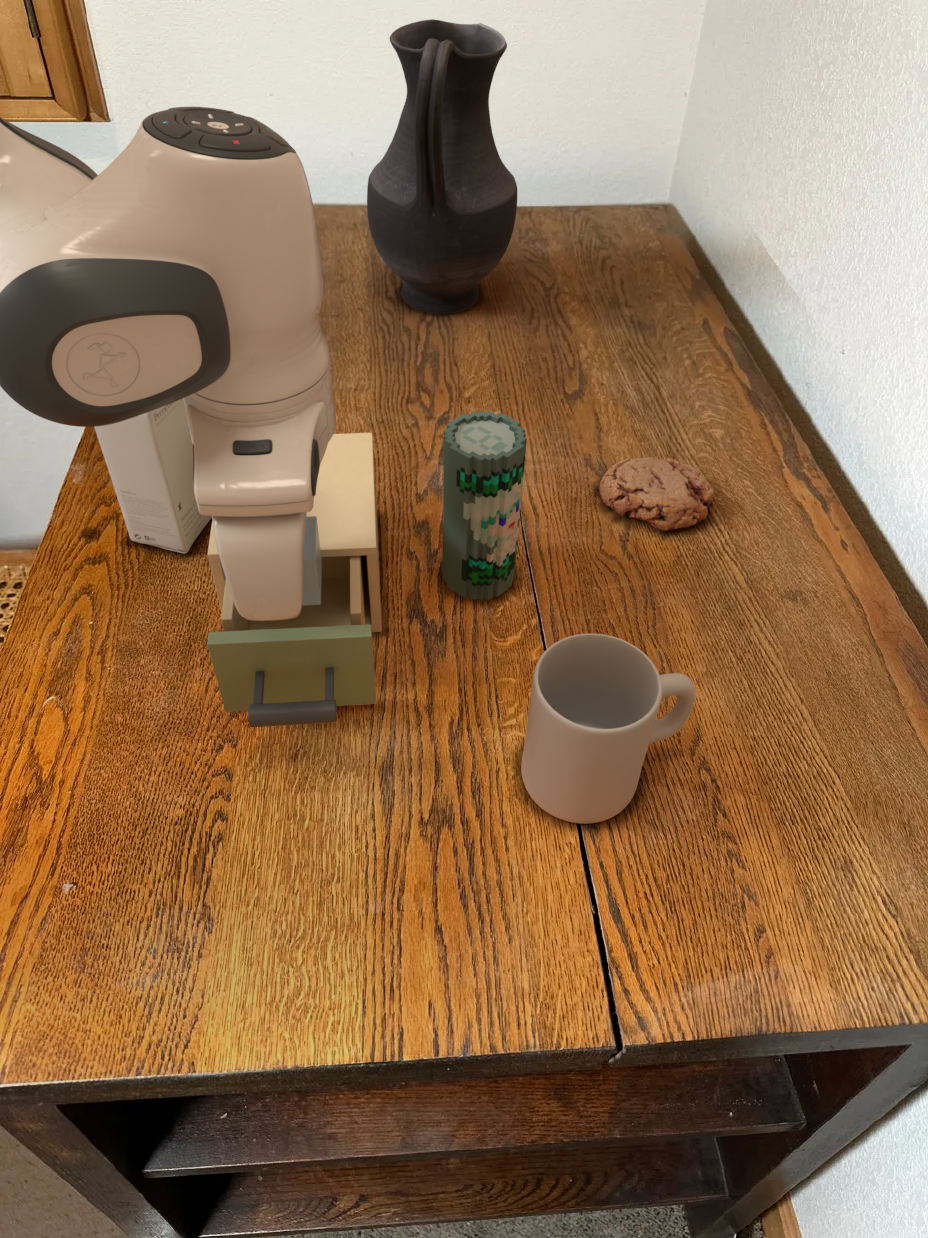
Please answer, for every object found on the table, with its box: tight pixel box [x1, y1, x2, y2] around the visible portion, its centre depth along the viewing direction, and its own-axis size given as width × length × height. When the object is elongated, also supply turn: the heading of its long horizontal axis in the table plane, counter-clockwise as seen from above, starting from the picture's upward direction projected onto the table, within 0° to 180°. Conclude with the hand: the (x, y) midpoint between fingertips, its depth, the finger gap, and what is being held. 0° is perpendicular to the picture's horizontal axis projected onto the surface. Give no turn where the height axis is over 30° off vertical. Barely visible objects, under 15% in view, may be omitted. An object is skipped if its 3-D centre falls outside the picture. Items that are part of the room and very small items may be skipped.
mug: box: [520, 632, 696, 825], centre depth 65 cm, size 12×8×11 cm
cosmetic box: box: [94, 399, 212, 554], centre depth 81 cm, size 8×6×15 cm
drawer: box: [206, 555, 377, 728], centre depth 71 cm, size 18×11×8 cm, turn 5°
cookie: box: [599, 456, 715, 531], centre depth 89 cm, size 10×11×3 cm
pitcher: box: [366, 18, 518, 315], centre depth 104 cm, size 17×21×30 cm
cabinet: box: [207, 432, 383, 633], centre depth 78 cm, size 15×13×10 cm
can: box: [441, 410, 528, 601], centre depth 77 cm, size 6×6×15 cm
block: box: [302, 516, 322, 606], centre depth 66 cm, size 4×4×4 cm
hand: (286, 568), depth 67 cm, fingers closed on block, 4 cm apart
